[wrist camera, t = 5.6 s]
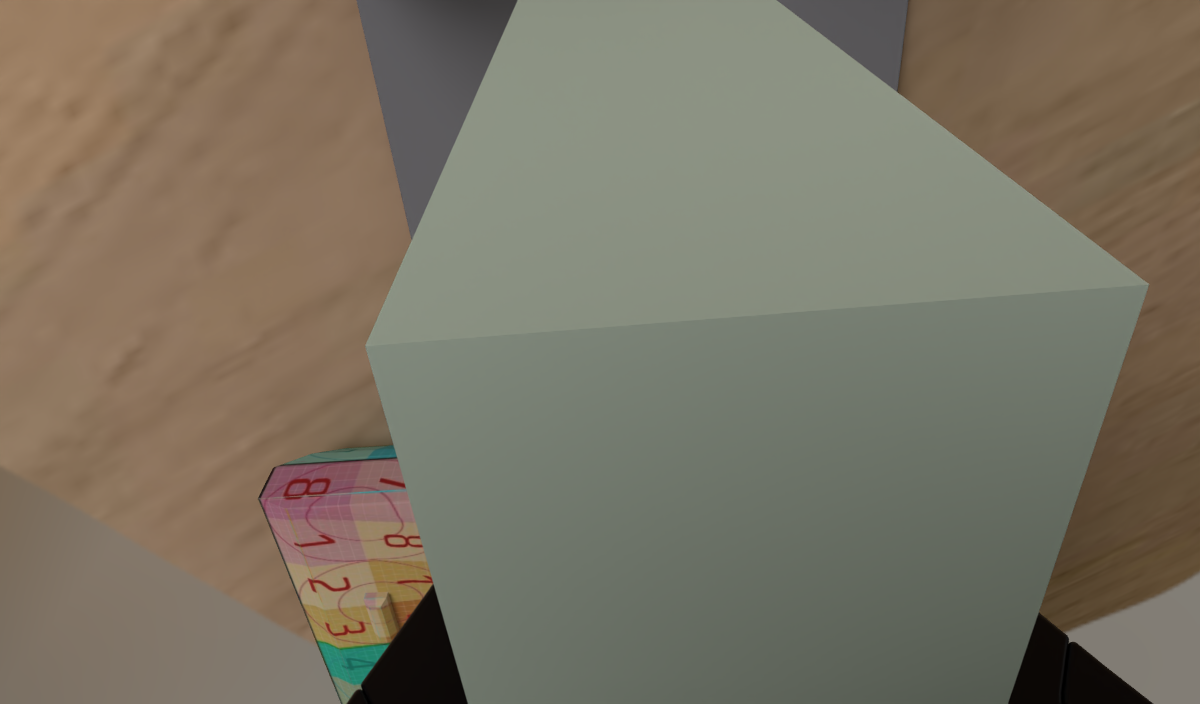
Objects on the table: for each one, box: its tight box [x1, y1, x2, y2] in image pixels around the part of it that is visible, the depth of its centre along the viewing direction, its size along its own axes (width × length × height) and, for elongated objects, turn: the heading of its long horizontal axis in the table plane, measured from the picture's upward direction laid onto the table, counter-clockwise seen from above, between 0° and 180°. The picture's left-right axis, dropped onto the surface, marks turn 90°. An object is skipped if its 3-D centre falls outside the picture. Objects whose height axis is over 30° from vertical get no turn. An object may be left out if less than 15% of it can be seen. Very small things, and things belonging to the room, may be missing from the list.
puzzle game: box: [258, 445, 433, 704], centre depth 25 cm, size 12×5×20 cm
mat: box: [357, 0, 908, 239], centre depth 19 cm, size 12×12×1 cm
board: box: [365, 0, 1149, 704], centre depth 10 cm, size 3×10×10 cm, turn 5°
